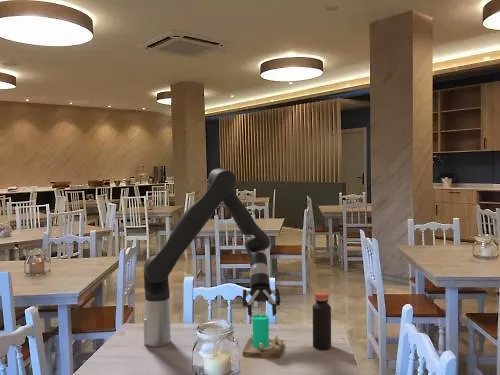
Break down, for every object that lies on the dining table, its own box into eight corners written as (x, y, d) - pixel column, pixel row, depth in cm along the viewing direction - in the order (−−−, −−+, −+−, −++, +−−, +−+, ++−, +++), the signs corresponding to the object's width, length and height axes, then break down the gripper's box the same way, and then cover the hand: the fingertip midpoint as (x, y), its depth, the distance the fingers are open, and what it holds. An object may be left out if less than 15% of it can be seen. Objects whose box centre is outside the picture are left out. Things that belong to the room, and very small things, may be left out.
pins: (247, 351, 160) (247, 342, 160) (251, 341, 168) (251, 333, 168) (275, 352, 158) (275, 344, 158) (278, 343, 167) (278, 335, 167)
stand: (242, 356, 159) (242, 351, 159) (249, 342, 172) (249, 337, 172) (279, 358, 157) (279, 353, 157) (283, 343, 170) (283, 339, 170)
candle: (267, 348, 161) (267, 315, 161) (251, 347, 162) (250, 314, 162) (270, 342, 167) (269, 310, 167) (254, 341, 168) (253, 309, 168)
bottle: (335, 347, 166) (334, 293, 165) (322, 352, 162) (322, 297, 161) (321, 341, 171) (321, 289, 171) (308, 346, 167) (308, 293, 166)
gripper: (241, 272, 174) (243, 311, 163) (278, 271, 175) (282, 310, 164) (241, 282, 180) (242, 320, 169) (276, 281, 181) (280, 319, 170)
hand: (262, 315), depth 166 cm, fingers open, 8 cm apart
